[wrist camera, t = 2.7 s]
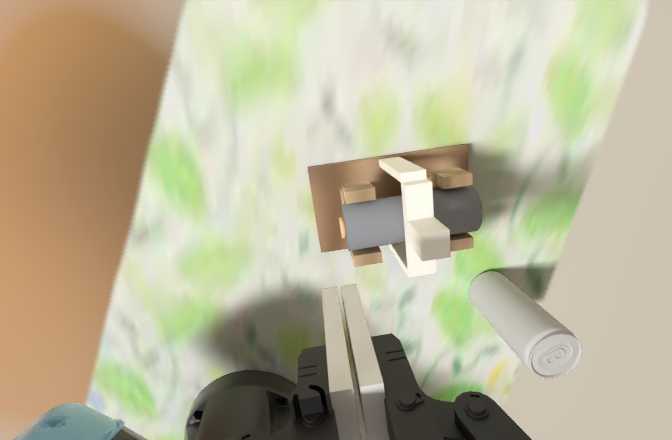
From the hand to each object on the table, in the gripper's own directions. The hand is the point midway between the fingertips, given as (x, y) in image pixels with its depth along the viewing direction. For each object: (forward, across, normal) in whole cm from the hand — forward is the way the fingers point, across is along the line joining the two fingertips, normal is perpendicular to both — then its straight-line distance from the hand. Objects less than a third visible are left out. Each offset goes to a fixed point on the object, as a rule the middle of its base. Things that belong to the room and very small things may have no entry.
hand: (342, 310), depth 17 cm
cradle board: (+19, +7, 0) cm, 21 cm away
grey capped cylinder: (+14, +7, 0) cm, 16 cm away
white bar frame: (+18, +7, 0) cm, 20 cm away
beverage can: (+20, +17, -13) cm, 29 cm away
